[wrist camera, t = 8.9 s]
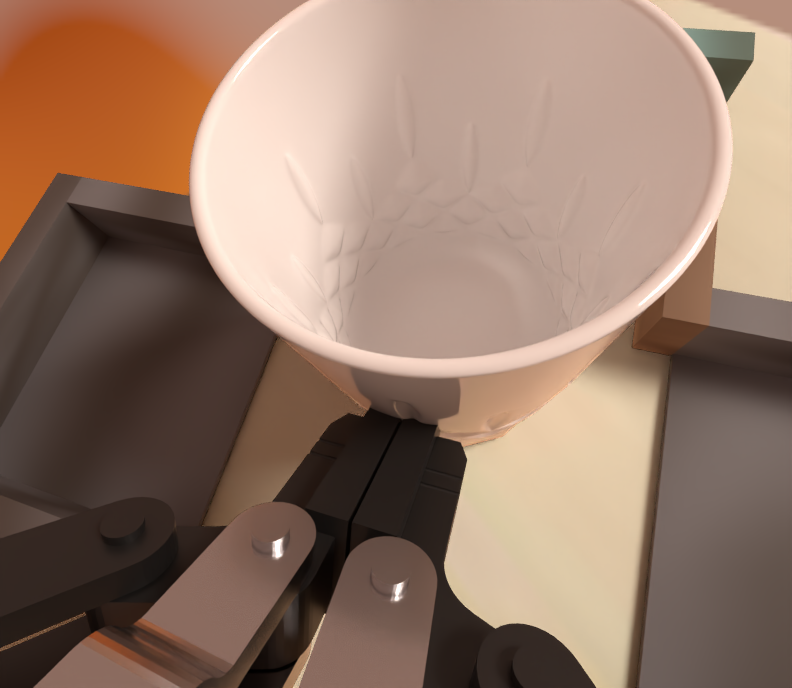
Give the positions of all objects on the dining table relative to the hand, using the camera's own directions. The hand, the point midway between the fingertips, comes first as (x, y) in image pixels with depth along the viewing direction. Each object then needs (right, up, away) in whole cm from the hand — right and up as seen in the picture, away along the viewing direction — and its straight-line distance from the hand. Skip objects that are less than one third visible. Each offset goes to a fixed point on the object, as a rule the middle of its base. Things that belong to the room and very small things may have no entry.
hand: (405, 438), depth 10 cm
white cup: (+2, +2, +6) cm, 6 cm away
